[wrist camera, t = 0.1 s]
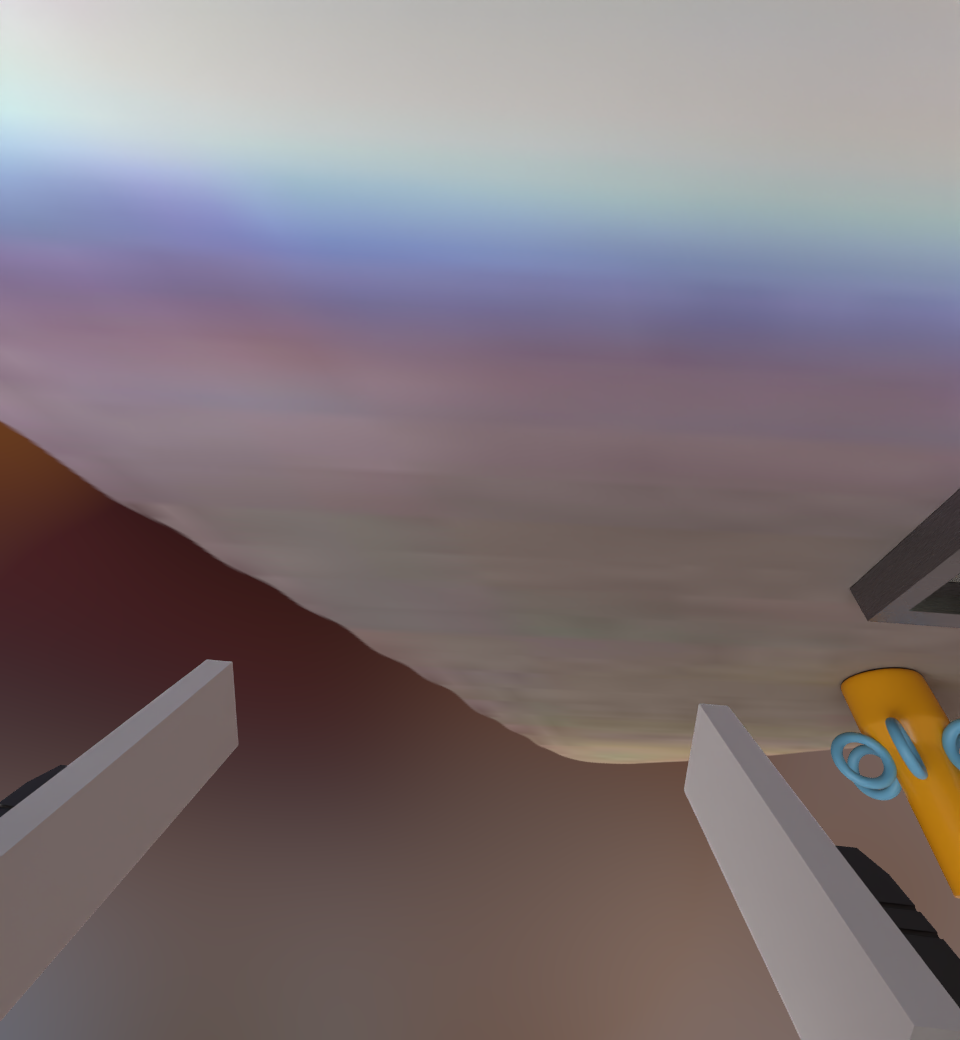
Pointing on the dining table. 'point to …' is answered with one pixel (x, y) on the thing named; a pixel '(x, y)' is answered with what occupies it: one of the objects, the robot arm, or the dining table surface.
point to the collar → (918, 575)
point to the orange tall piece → (908, 755)
